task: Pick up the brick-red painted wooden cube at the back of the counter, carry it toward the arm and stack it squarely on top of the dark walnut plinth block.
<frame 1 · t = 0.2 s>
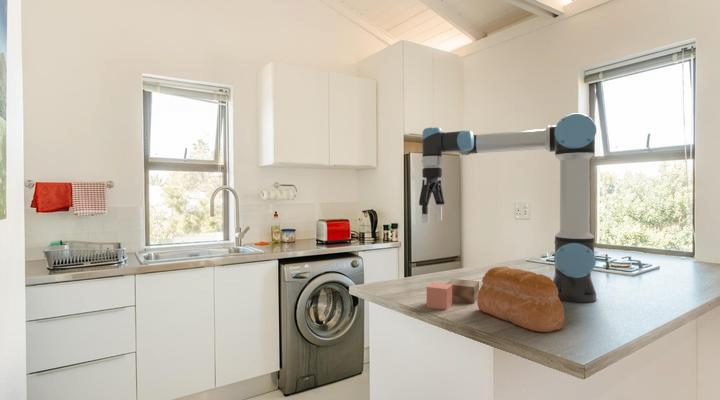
hand: (432, 221, 154), 28 cm above the counter, fingers open, 13 cm apart
bread: (518, 319, 121), on the counter
walnut plinth: (462, 298, 144), on the counter
red cube: (439, 305, 135), on the counter
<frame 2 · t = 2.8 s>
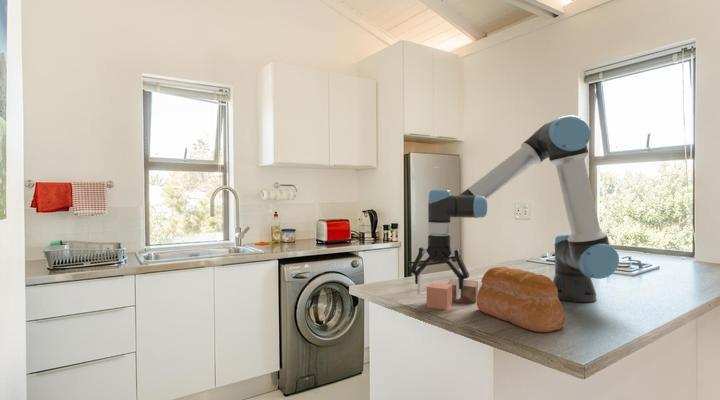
hand: (438, 295, 135), 3 cm above the counter, fingers open, 13 cm apart
nothing on the counter moved.
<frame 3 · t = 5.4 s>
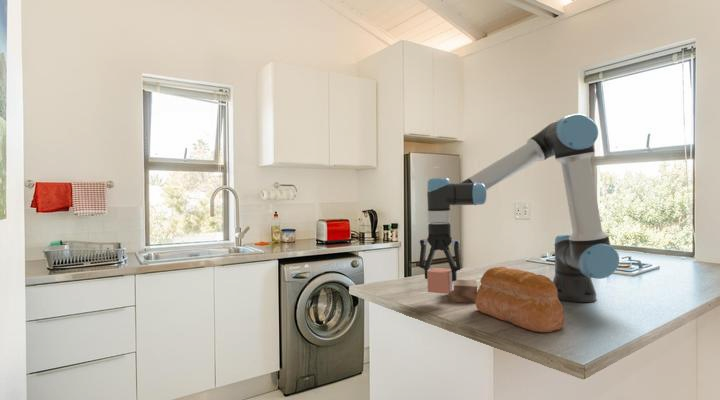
hand: (440, 289, 135), 6 cm above the counter, fingers closed on red cube, 7 cm apart
red cube: (440, 290, 135), point 5 cm above the counter, touching gripper
everything else where it was.
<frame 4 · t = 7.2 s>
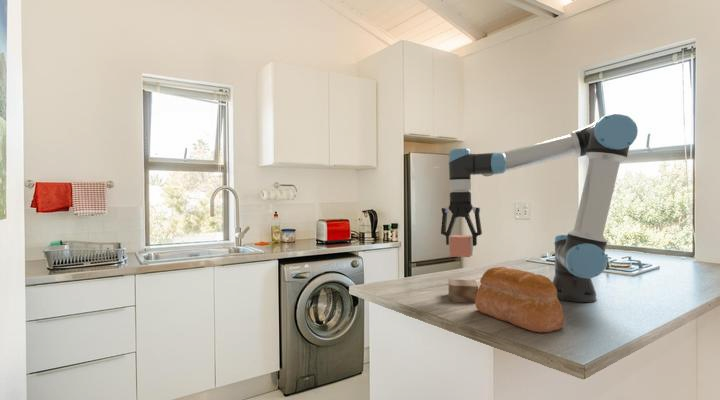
hand: (461, 254, 143), 16 cm above the counter, fingers closed on red cube, 7 cm apart
red cube: (461, 255, 143), point 16 cm above the counter, touching gripper
everything else where it was.
when the fingers open (7 cm above the counter, at t = 9.6 s): red cube stays where it is, resting on walnut plinth.
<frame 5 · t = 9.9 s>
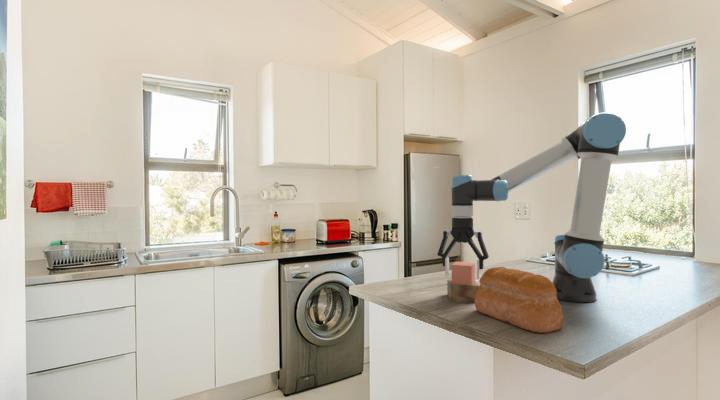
hand: (462, 276, 144), 8 cm above the counter, fingers open, 11 cm apart
walnut plinth: (462, 298, 144), on the counter, touching red cube
red cube: (463, 282, 144), point 6 cm above the counter, touching walnut plinth
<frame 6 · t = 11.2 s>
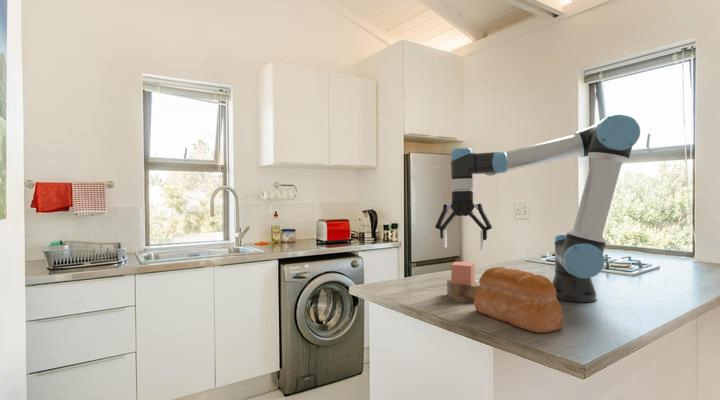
hand: (463, 248, 144), 18 cm above the counter, fingers open, 13 cm apart
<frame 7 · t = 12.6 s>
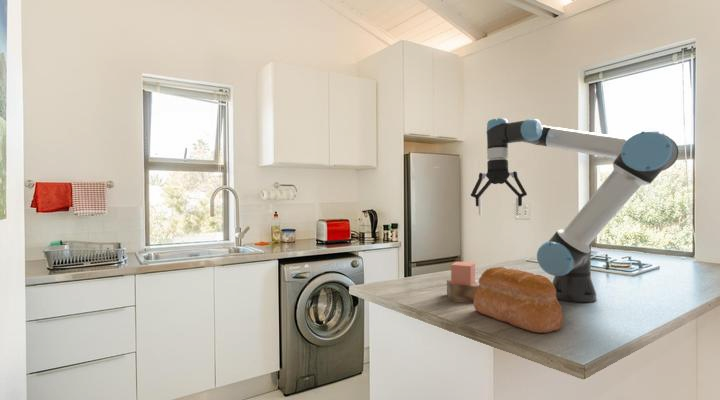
hand: (498, 215, 151), 30 cm above the counter, fingers open, 13 cm apart
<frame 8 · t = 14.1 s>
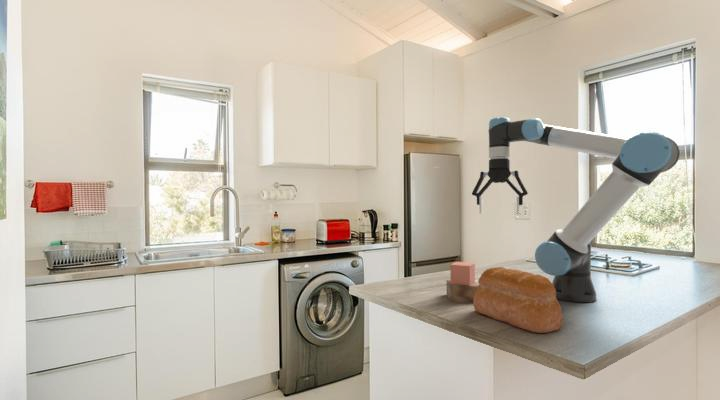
hand: (499, 213, 151), 31 cm above the counter, fingers open, 13 cm apart
at the end: red cube 0.3 cm off-centre on the walnut plinth, point 6.0 cm above the walnut plinth's base; red cube tilted 0°; the gripper is holding nothing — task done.
